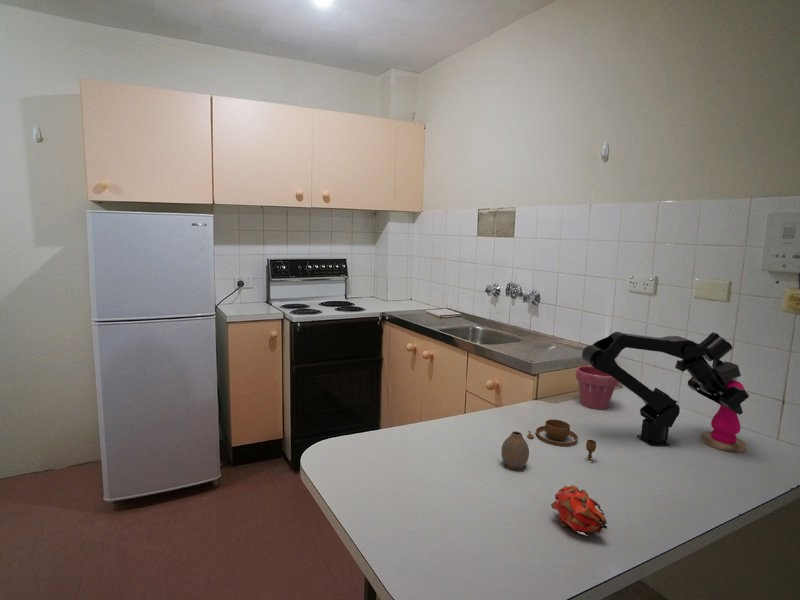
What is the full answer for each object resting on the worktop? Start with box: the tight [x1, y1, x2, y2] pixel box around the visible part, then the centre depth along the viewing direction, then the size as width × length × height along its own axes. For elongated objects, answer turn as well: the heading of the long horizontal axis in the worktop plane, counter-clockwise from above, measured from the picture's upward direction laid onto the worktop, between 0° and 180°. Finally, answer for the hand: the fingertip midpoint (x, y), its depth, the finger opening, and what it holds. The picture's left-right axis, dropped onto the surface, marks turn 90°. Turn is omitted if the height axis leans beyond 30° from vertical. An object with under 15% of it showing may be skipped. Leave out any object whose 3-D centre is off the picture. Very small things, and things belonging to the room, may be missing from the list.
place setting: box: [527, 418, 597, 461], centre depth 135 cm, size 18×20×6 cm
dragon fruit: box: [550, 485, 608, 536], centre depth 95 cm, size 8×8×12 cm
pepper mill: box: [710, 377, 745, 444], centre depth 139 cm, size 7×7×20 cm
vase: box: [500, 430, 530, 470], centre depth 120 cm, size 7×7×9 cm
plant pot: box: [575, 365, 619, 410], centre depth 169 cm, size 14×14×13 cm
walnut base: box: [700, 431, 747, 454], centre depth 141 cm, size 11×11×2 cm
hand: (732, 409), depth 140 cm, fingers open, 6 cm apart
